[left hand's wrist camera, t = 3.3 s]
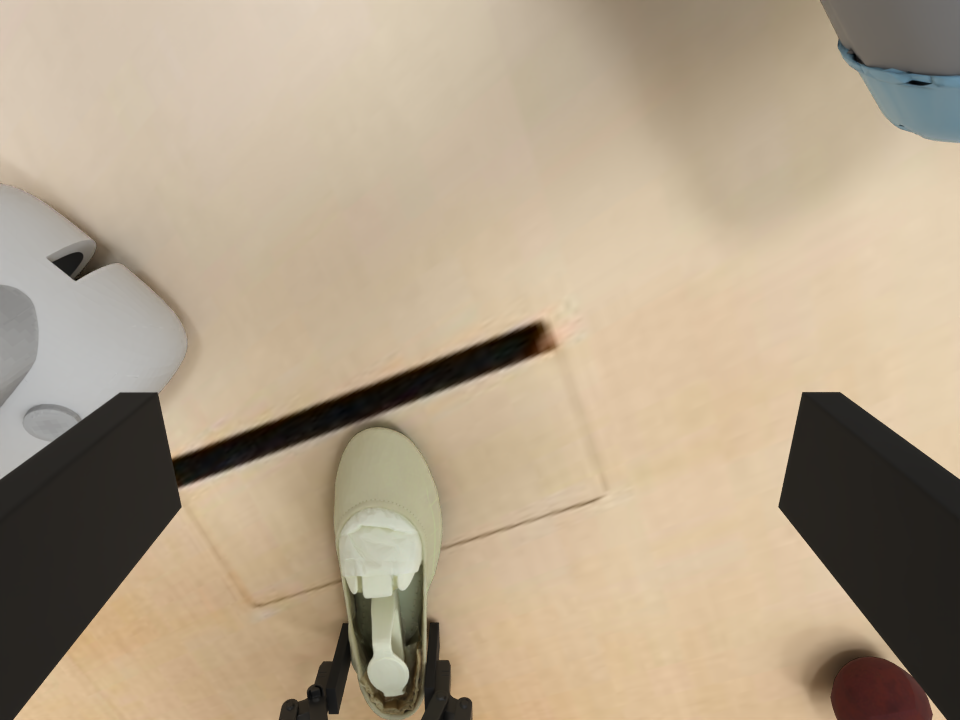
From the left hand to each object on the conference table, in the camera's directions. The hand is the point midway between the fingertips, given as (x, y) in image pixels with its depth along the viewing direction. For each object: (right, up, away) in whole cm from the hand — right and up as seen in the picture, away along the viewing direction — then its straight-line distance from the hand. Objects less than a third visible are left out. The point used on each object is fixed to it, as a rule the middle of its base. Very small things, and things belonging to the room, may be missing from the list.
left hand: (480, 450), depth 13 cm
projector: (-31, +2, +31) cm, 44 cm away
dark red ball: (+34, -26, +42) cm, 60 cm away
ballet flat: (-7, -14, +38) cm, 41 cm away
